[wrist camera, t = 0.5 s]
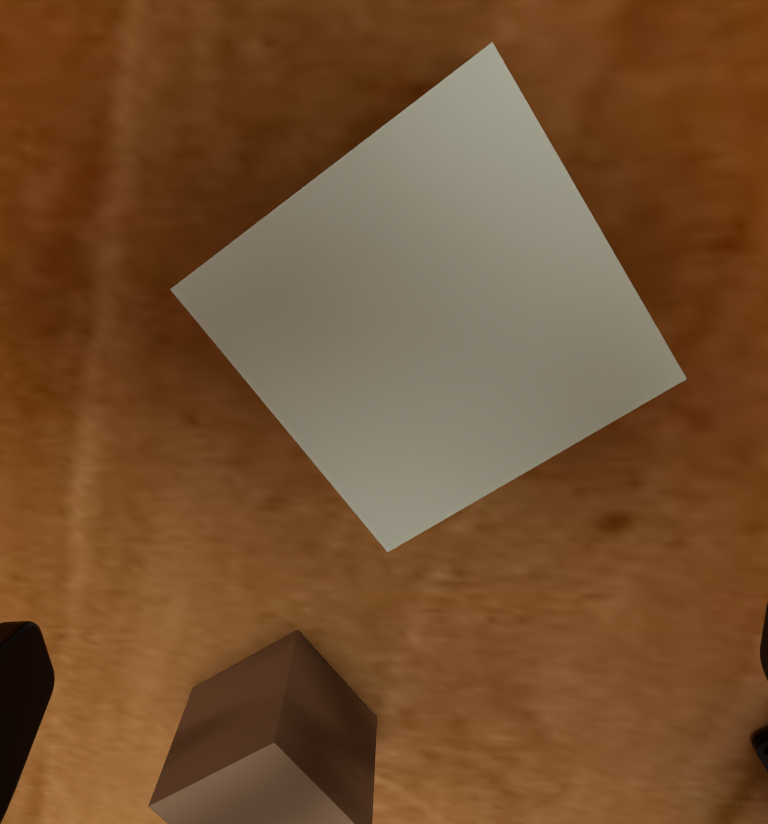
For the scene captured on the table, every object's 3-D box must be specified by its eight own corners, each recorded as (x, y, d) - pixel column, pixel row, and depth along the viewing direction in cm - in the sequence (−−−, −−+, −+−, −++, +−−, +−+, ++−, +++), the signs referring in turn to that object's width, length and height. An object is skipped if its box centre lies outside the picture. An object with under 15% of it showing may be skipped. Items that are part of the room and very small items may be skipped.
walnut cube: (377, 715, 27) (371, 840, 22) (274, 766, 28) (248, 895, 23) (298, 628, 25) (274, 742, 20) (193, 685, 26) (148, 806, 22)
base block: (636, 332, 21) (686, 378, 17) (390, 482, 23) (387, 552, 19) (474, 58, 18) (492, 42, 14) (212, 258, 20) (169, 289, 17)
